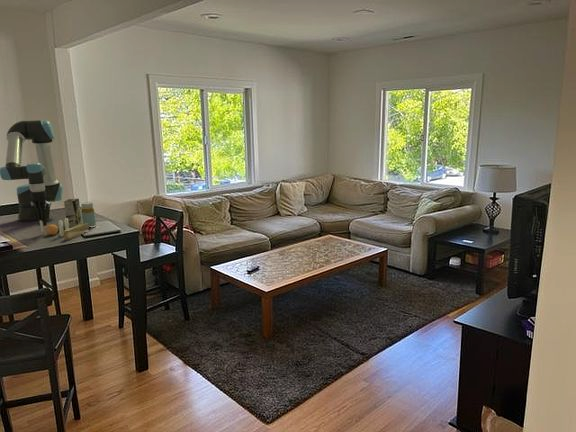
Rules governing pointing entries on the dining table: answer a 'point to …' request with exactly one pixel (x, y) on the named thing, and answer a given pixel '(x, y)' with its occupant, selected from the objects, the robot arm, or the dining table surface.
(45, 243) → the dining table surface
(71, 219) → the coffee box
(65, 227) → the pin
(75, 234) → the back rail
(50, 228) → the ball
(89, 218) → the bottle
